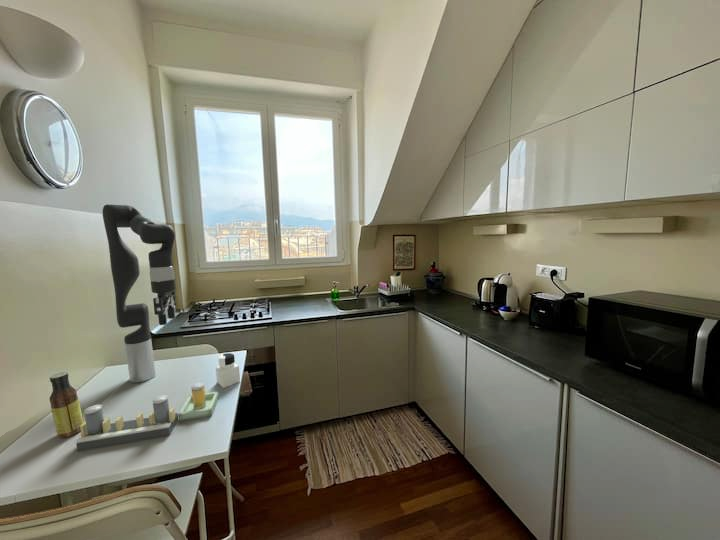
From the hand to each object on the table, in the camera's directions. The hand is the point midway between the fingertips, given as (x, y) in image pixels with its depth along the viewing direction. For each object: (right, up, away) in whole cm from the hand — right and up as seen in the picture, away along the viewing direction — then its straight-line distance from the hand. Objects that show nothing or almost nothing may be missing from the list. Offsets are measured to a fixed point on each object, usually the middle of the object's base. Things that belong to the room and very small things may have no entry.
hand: (167, 321), depth 111 cm
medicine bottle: (+17, -28, +14) cm, 36 cm away
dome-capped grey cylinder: (-8, -31, -20) cm, 38 cm away
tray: (+15, -31, -5) cm, 34 cm away
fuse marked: (+15, -30, -5) cm, 34 cm away
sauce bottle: (-21, -33, -16) cm, 42 cm away
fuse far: (+9, -30, -16) cm, 35 cm away
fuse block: (0, -33, -18) cm, 37 cm away
